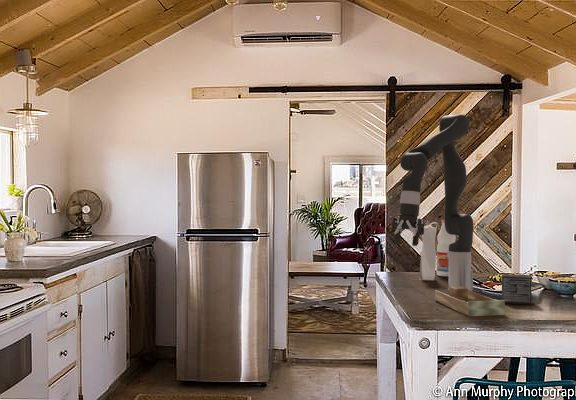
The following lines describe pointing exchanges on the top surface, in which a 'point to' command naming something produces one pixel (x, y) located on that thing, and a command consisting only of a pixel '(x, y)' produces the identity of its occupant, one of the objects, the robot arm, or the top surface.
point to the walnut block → (459, 293)
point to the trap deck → (473, 304)
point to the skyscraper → (428, 253)
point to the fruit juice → (443, 250)
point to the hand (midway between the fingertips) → (405, 244)
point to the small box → (516, 289)
